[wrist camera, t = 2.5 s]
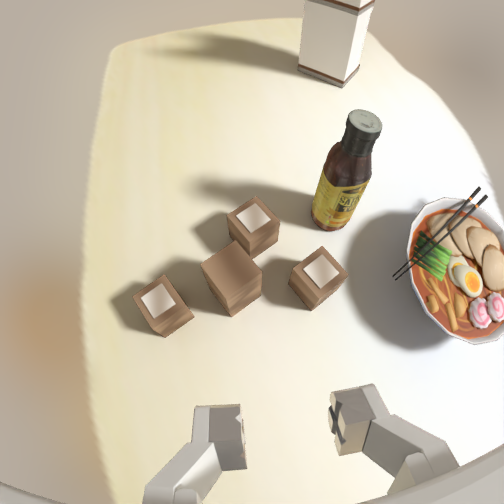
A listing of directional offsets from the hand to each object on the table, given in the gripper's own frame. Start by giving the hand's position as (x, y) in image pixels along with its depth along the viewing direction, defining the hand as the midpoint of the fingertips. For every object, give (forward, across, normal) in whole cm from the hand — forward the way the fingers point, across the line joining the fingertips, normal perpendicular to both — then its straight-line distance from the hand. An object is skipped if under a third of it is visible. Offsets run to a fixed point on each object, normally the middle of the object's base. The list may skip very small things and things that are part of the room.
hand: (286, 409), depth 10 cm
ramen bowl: (+31, -31, +14) cm, 46 cm away
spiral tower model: (+69, -23, -24) cm, 77 cm away
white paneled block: (+32, -8, +12) cm, 36 cm away
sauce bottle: (+40, -13, +4) cm, 43 cm away
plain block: (+32, +2, +12) cm, 35 cm away
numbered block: (+31, +12, +14) cm, 36 cm away
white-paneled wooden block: (+38, -1, +6) cm, 39 cm away
